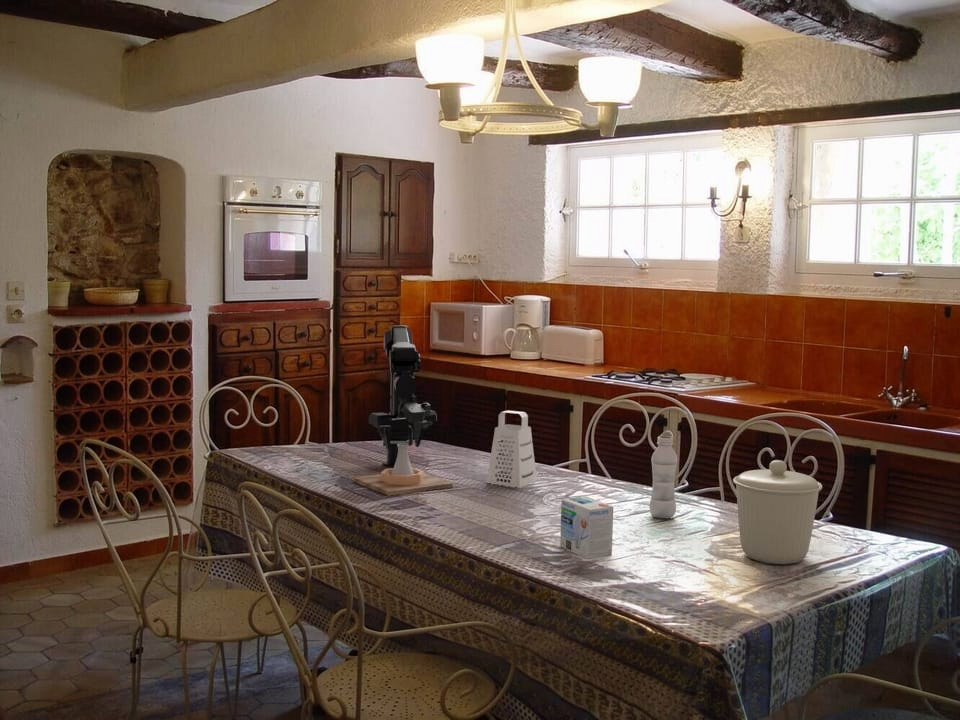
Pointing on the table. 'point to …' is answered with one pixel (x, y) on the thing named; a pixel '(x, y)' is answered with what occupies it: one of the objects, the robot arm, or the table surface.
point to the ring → (402, 477)
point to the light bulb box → (586, 527)
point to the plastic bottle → (663, 479)
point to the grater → (512, 453)
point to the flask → (402, 461)
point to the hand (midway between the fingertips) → (402, 448)
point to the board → (394, 489)
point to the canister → (776, 513)
